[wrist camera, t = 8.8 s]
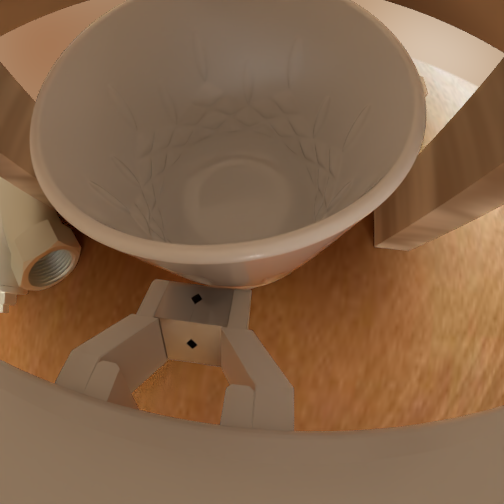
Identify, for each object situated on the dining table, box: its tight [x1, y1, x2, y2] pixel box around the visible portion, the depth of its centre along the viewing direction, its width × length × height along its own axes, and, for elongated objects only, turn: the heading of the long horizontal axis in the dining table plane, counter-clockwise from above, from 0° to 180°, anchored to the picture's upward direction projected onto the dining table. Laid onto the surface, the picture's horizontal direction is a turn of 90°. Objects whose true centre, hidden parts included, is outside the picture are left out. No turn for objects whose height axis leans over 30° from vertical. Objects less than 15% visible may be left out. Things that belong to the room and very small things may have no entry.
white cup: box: [29, 0, 426, 289], centre depth 9 cm, size 8×8×10 cm
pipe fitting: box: [0, 177, 81, 313], centre depth 13 cm, size 8×4×7 cm
